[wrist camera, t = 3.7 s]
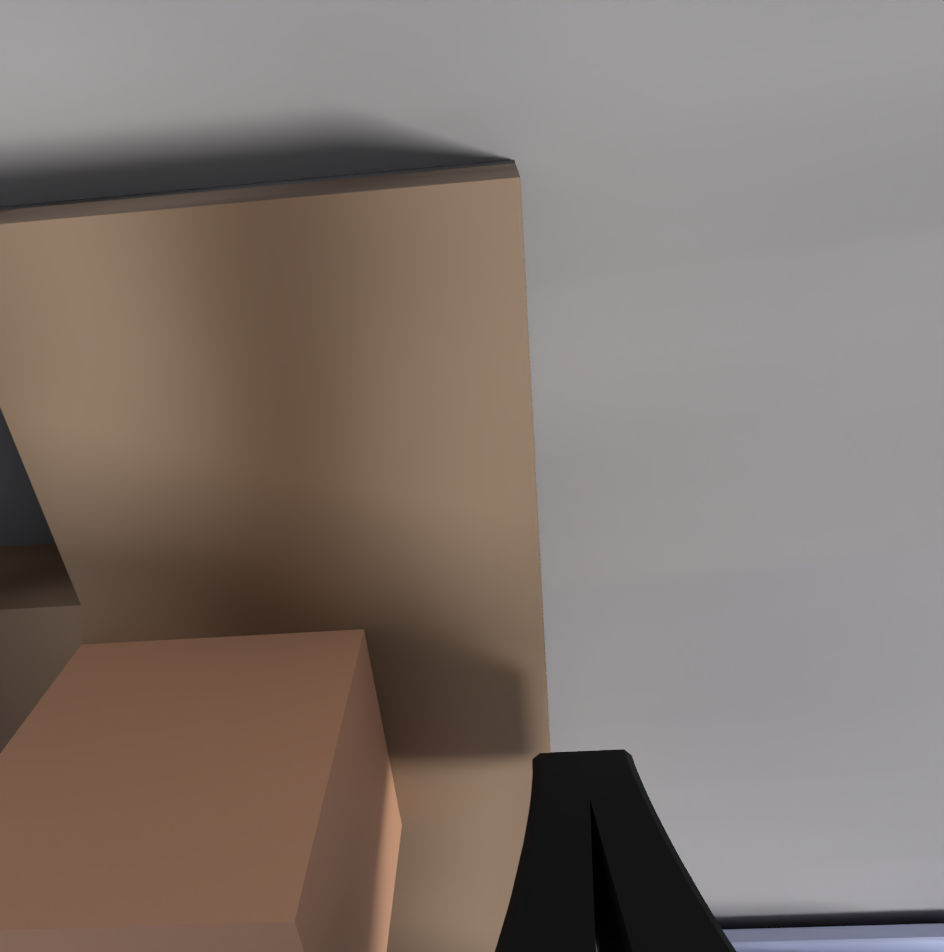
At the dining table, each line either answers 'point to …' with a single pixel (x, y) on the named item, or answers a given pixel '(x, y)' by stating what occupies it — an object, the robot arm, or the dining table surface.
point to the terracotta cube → (202, 801)
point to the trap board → (294, 472)
